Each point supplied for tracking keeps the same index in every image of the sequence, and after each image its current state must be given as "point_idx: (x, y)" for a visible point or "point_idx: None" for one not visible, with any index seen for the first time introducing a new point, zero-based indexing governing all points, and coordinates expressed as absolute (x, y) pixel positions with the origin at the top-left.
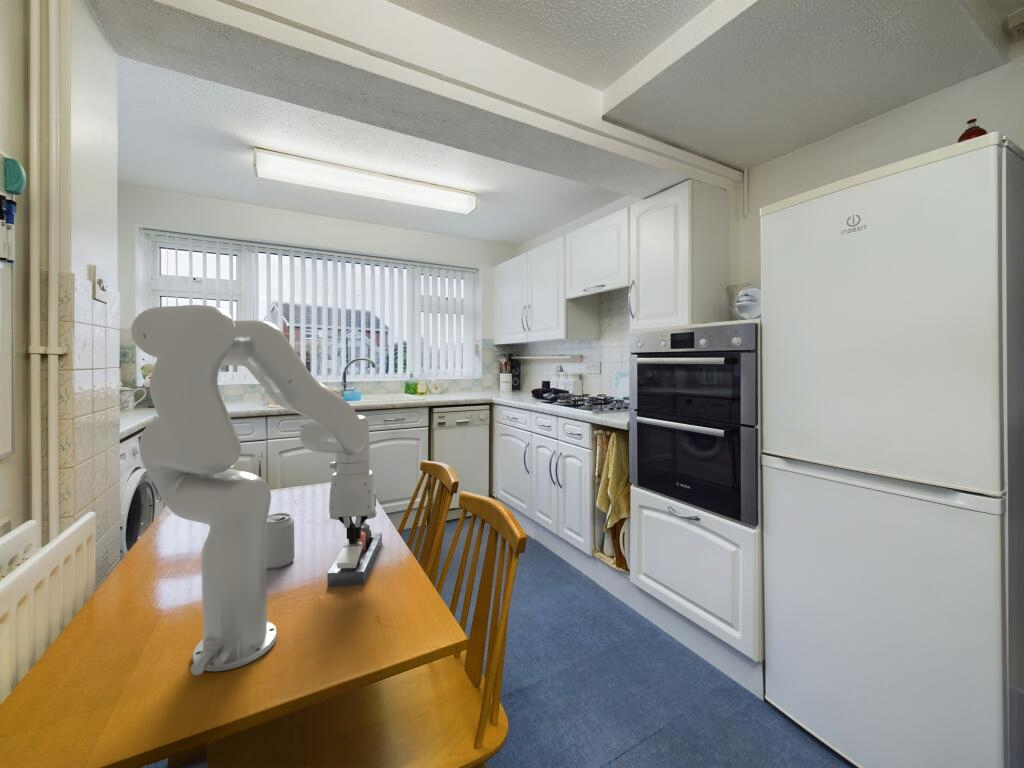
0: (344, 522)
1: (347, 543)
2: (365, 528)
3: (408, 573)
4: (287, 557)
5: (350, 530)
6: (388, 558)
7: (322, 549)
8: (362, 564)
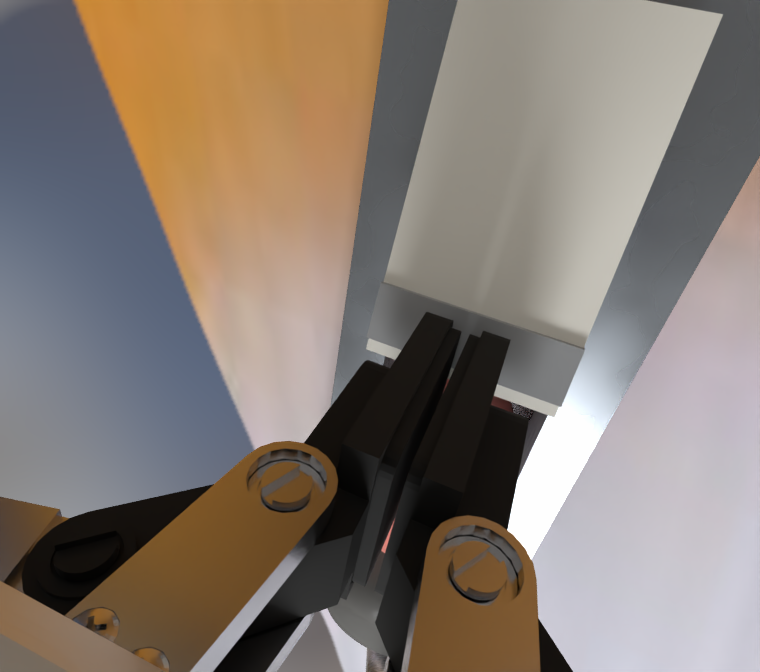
0: (527, 655)
1: (527, 385)
2: (354, 584)
3: (144, 66)
4: None
5: (441, 446)
6: (289, 328)
7: (689, 617)
8: (415, 131)
